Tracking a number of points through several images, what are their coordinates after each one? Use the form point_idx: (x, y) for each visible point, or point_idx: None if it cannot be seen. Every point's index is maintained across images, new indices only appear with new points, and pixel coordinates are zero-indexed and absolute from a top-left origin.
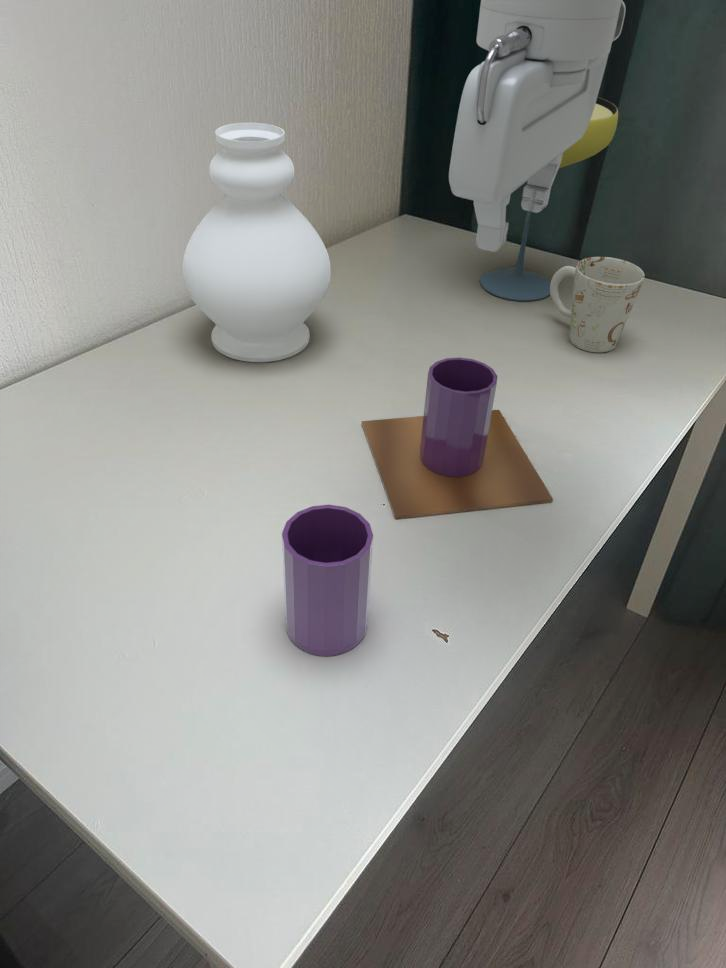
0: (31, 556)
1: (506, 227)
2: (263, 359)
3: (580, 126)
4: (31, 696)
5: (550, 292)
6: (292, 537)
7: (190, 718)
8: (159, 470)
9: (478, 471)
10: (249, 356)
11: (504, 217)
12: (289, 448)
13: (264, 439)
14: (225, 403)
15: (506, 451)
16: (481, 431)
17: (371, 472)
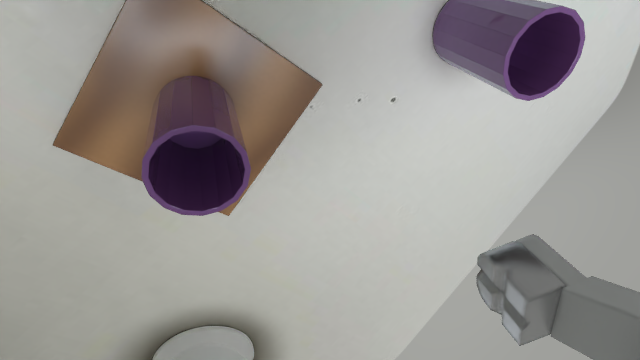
0: (506, 215)
1: (536, 286)
2: (232, 330)
3: None
4: (589, 117)
5: None
6: (527, 86)
7: None
8: (400, 246)
9: (187, 74)
10: (242, 337)
11: (627, 303)
12: (311, 219)
13: (317, 239)
14: (303, 291)
15: (121, 76)
16: (196, 97)
17: (281, 150)
